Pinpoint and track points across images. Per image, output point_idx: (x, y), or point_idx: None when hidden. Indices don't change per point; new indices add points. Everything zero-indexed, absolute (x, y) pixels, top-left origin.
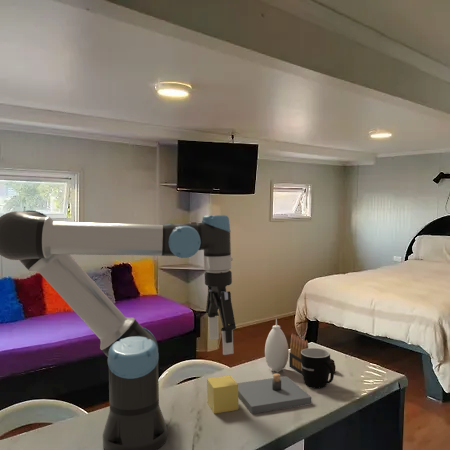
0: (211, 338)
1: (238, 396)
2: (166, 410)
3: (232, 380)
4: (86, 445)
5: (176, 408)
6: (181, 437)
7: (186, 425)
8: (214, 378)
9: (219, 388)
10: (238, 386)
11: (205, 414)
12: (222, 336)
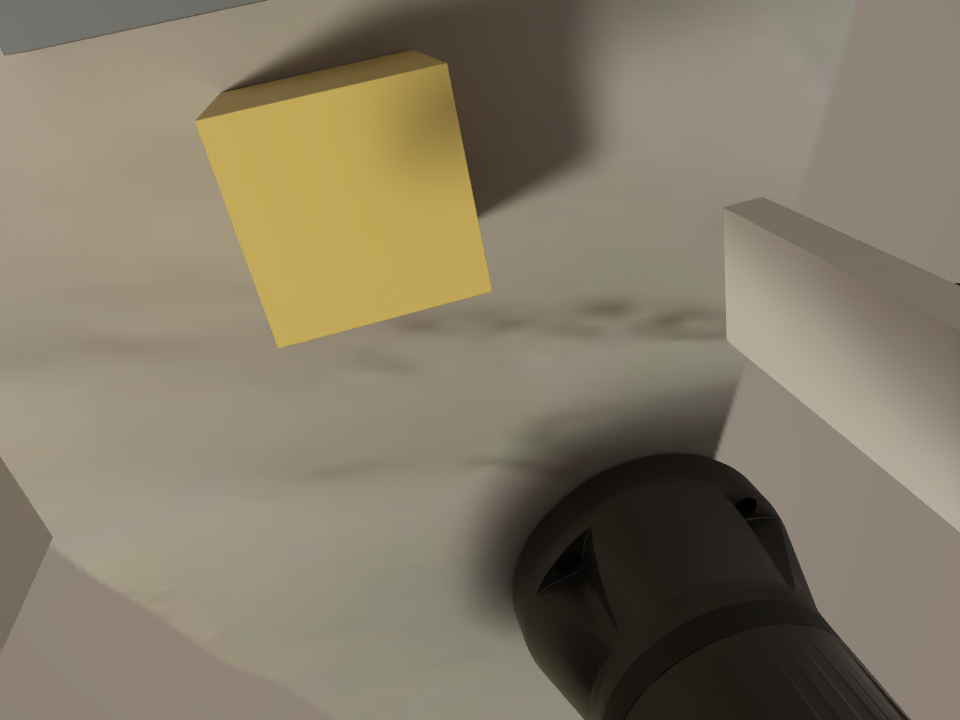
0: (28, 531)
1: (185, 17)
2: (379, 498)
3: (338, 110)
4: None
5: (357, 452)
6: (672, 392)
7: (565, 380)
8: (280, 283)
9: (480, 240)
10: (71, 3)
11: None
12: (919, 484)
